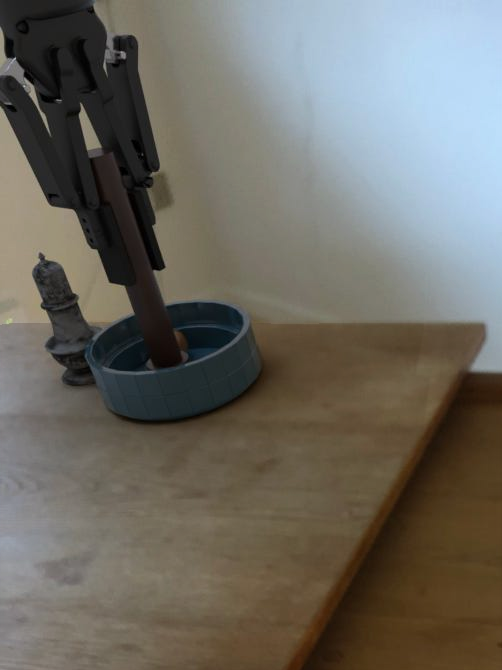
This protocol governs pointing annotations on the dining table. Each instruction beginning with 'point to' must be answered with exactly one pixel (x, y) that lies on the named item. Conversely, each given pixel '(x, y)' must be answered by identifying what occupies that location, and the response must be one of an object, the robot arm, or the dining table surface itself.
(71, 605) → the dining table surface
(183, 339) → the brown ball
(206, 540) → the dining table surface
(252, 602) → the dining table surface
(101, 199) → the brown pestle
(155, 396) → the bowl
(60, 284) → the salt shaker
